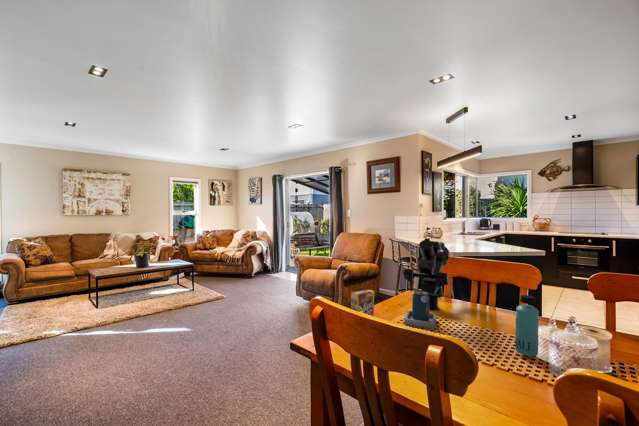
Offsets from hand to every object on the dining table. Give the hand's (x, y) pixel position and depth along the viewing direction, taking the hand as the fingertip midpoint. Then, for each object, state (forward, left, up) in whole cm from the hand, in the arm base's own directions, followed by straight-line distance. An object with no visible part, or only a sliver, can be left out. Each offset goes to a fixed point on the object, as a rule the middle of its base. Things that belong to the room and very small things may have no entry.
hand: (422, 292), depth 130 cm
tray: (+2, 0, -12) cm, 12 cm away
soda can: (+2, 0, -11) cm, 12 cm away
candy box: (+20, -21, -12) cm, 32 cm away
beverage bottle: (+20, +34, -12) cm, 41 cm away
